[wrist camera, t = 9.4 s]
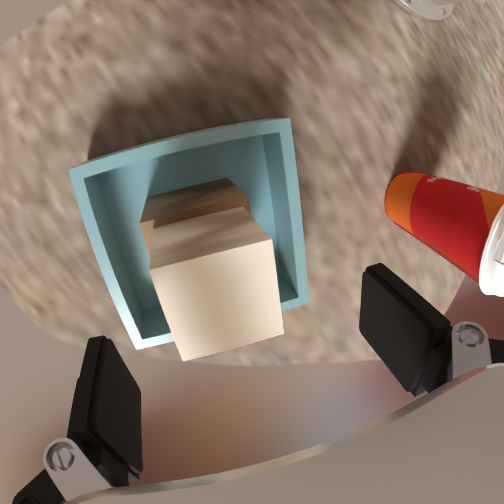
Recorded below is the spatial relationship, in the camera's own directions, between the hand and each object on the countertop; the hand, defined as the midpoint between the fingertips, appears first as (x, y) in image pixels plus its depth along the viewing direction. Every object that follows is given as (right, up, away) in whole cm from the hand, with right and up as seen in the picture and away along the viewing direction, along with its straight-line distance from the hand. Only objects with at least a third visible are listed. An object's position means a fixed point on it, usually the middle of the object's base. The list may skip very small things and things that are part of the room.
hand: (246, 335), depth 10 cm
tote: (-4, +5, +13) cm, 14 cm away
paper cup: (+15, +8, +17) cm, 24 cm away
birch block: (-2, +2, +7) cm, 8 cm away
